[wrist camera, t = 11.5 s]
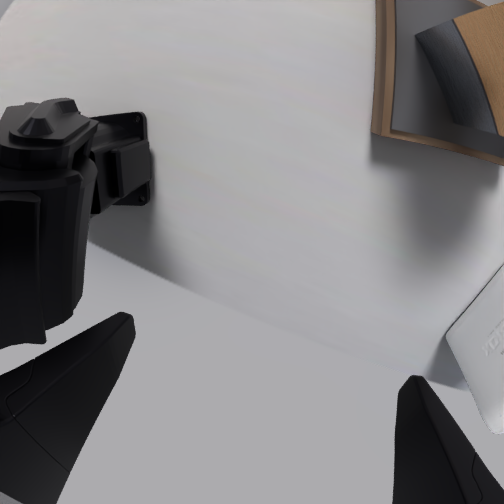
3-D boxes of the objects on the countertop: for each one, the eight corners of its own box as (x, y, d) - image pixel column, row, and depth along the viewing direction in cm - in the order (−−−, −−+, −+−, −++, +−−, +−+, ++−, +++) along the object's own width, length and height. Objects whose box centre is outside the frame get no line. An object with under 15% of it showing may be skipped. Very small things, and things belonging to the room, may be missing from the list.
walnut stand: (370, 131, 17) (382, 136, 15) (374, -22, 12) (385, -36, 10) (499, 162, 16) (519, 171, 14) (506, 29, 11) (525, 26, 9)
